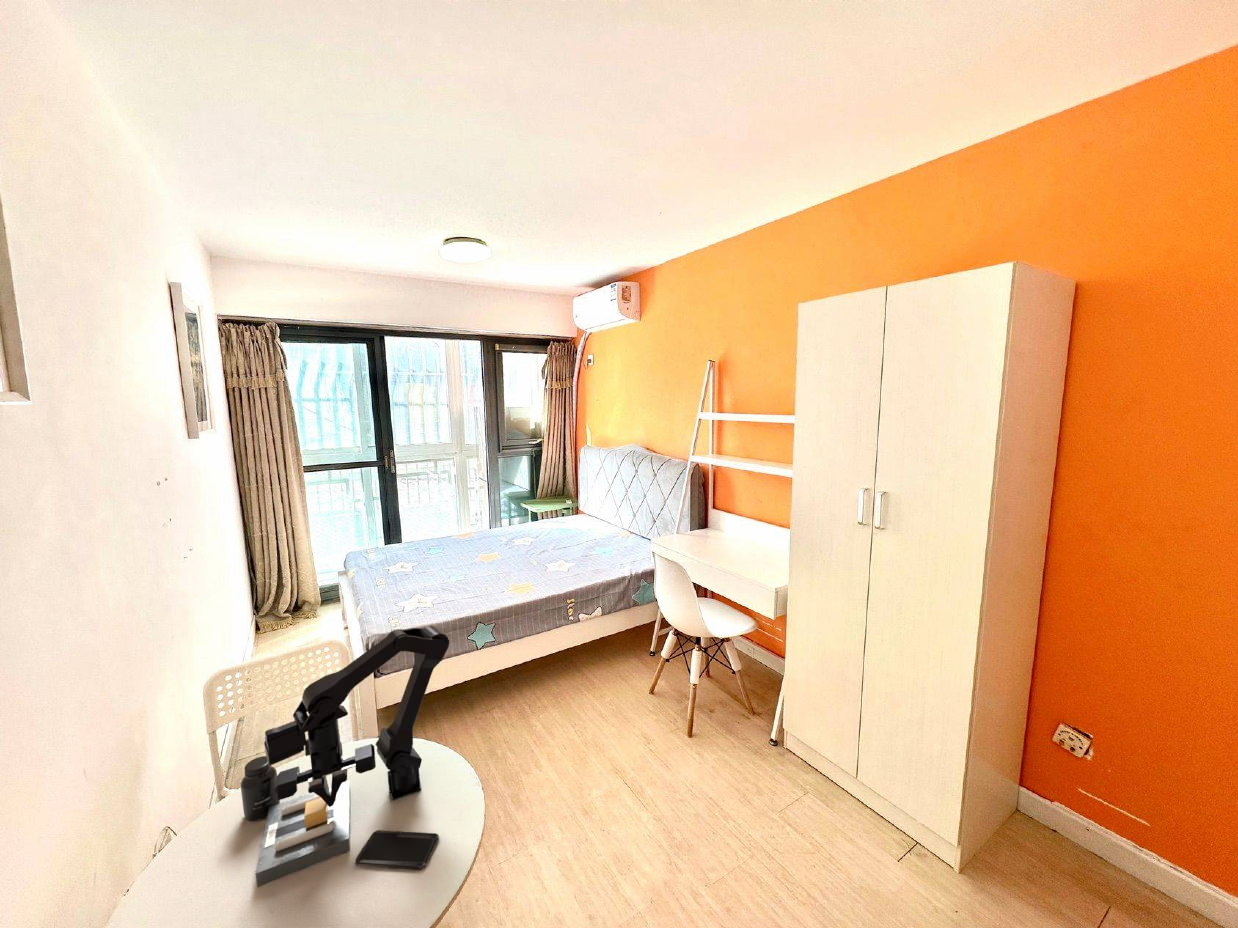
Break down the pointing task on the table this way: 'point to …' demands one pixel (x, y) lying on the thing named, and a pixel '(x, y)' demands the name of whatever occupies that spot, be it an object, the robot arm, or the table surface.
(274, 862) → the panel
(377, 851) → the phone
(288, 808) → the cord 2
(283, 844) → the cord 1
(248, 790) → the supplement bottle
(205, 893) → the table surface
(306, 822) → the block
